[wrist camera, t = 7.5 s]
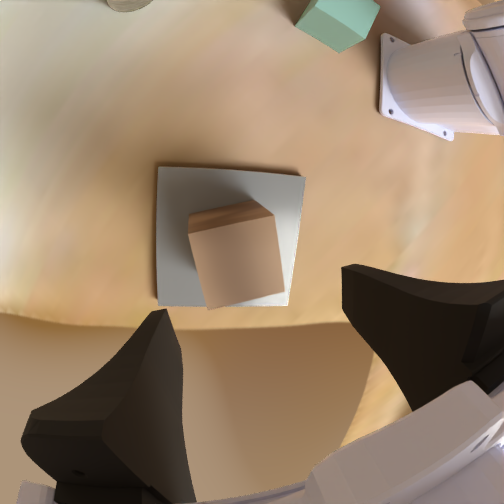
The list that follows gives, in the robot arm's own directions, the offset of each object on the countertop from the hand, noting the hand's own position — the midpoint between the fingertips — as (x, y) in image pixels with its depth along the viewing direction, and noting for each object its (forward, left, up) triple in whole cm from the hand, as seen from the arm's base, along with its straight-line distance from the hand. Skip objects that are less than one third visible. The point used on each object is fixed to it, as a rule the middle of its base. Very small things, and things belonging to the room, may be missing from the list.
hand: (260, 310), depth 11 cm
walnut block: (0, 0, -10) cm, 10 cm away
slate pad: (0, 0, -10) cm, 10 cm away
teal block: (-6, -18, -10) cm, 21 cm away
